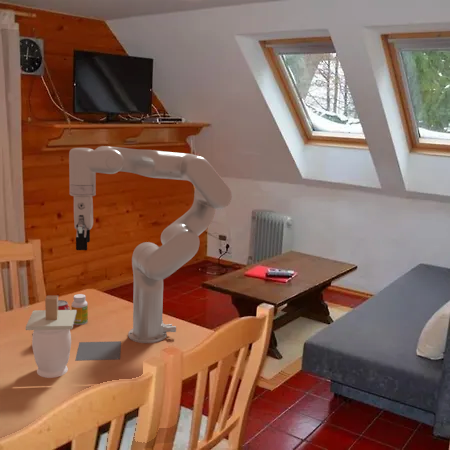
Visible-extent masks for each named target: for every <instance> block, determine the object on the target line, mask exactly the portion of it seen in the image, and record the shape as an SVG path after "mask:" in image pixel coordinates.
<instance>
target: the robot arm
mask: <svg viewBox="0 0 450 450" xmlns="http://www.w3.org/2000/svg"><path fill="white" fill-rule="evenodd" d="M68 154H69V155H68V164H69V165H68V166H69V169H68V171H69V175H68V176H69V195H70V196H71V197H73V220H74V221H73V222H74V223H73V225H74V229H75V230H76V234H75V250H76V251H87V250H88V243H90V242H91V233H90V232H91V231H90V230H91V229H92V228H93V226H94V203H93V201H94V200H93V197H95V196H96V195H97V194H96V193H97V192H96V191H97V190H96V186H97V184H96V180H97V179H96V178H97V177H96V176H97V174H98V173H99V174H107V175H114V174H117V173H118V172H122V173H123V172H125V173H132V174H136V175H139V176H143V177H147V178H153V179H165V180H178V181H188V182H190V183H191V184H192V185H193V187H194V195H193V196H194V197H193V202H192V205H191V206H190V208H189V209H188V210H187V211H186V212H185V213H184V214H183V215H181V216H180V217H178V218H177V219H176V220H175V221H172V223H170V224H169V225H167V226H166V227H165V228H164V229H163V231H162V232H161V235H160V242H161V244H162V245H160V246H159V245H157V244H155V243H154V242H150V241H148V242H147V241H146V242H145V241H144V242H142V243H140V244H138V245H137V246H136V247H135V248H134V249H133V253H132V256H131V267H132V273H133V293H132V294H133V297H132V298H133V301H132V303H133V307H132V308H133V309H132V310H133V311H132V315H133V316H132V328H131V329H130V330H129V331H128V333H127V334H128V335H127V336H128V338H129V340H130V341H133V342H136V343H140V344H154V343H158V342H161V341H163V340H165V339H166V338H167V336H168V335H167V334H168V333H176V332H177V326H176V325H173V323H168V324H165V323H164V320H163V310H164V309H163V307H164V306H163V305H164V304H163V301H164V300H163V299H164V280H165V279H166V278H169V277H170V276H171V275H172V274H174V273H176V272H177V270H179V269H181V267H183V266H184V265H186V263H188V262H189V261H190V260H192V258H193V257H195V255H196V254H198V251H199V247H200V243H201V242H200V237H199V236H200V235H201V234H203V232H205V231H206V230H207V229H208V228H209V227H210V226H211V224H212V222H213V219H214V217H215V214H216V210H223V209H225V208H227V207H228V206H229V205H230V203H231V201H232V197H233V196H232V191H231V187H229V185H228V184H227V183H226V182H225V180H224V179H223V178H222V177H221V176H220V174H219V173H218V172H217V171H216V169H215V167H214V166H212V164H211V163H210V162H209V161H208V160H207V159H206V158H204V157H203V156H199V155H197V154H193V153H185V152H176V151H175V152H174V151H173V152H172V151H165V150H164V151H163V150H156V149H153V150H152V149H136V148H127V147H118V146H108V145H107V146H106V145H105V146H104V145H101V146H98V147H96V148H95V149H93V148H89V147H73V148H71V149H70V150H69V152H68Z"/></svg>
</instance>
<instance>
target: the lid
mask: <svg viewBox="0 0 450 450" xmlns="http://www.w3.org/2000/svg"><path fill="white" fill-rule="evenodd" d="M58 300H59V295H46V297H45V299H44V301H45V306H44V307H45V308H44V310H41V309H40V310H39V309H38V310H37V309H36V310H35V309H34V310H33V311H32V312H31V314H30V316H29V318H28V320H27V323H26V325H25V331H34V330H63V329H70V330H73V328H74V321H75V317H76V313H77V310H72V309H70V310H58Z"/></svg>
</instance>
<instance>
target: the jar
mask: <svg viewBox="0 0 450 450" xmlns="http://www.w3.org/2000/svg"><path fill="white" fill-rule="evenodd" d="M32 331H33V332H32V336H31V337H32V340H31V343H32V345H31V346H32V351H33V352H32V353H33V357H34V361H35V364H36V366H37V370H36V374H37V375H38V376H40V377H42V378H46V379H47V378H48V379H51V378H58V377H62V376H64V375H65V374H66V373H68V371H69V368H68V366H67V365H68V364H69V363H68V362H69V360H70V355H71V354H70V353H71V349H72V348H71V347H72V333H71V329H63V330H32Z"/></svg>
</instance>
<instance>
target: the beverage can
mask: <svg viewBox="0 0 450 450" xmlns="http://www.w3.org/2000/svg"><path fill="white" fill-rule="evenodd" d="M70 308H71V307H70V305H69V303H68V301H67V300H59V299H58V310H71V309H70Z"/></svg>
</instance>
